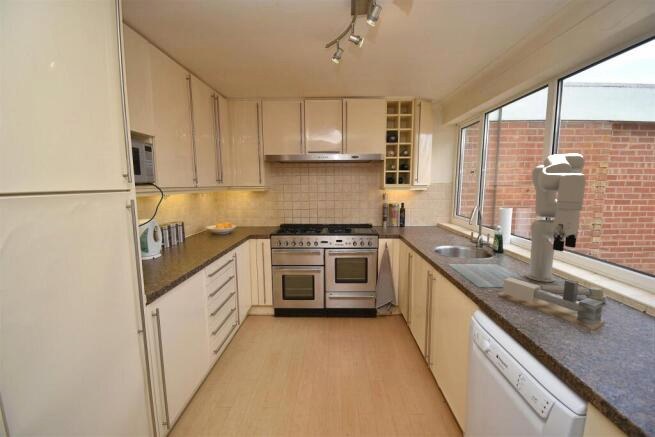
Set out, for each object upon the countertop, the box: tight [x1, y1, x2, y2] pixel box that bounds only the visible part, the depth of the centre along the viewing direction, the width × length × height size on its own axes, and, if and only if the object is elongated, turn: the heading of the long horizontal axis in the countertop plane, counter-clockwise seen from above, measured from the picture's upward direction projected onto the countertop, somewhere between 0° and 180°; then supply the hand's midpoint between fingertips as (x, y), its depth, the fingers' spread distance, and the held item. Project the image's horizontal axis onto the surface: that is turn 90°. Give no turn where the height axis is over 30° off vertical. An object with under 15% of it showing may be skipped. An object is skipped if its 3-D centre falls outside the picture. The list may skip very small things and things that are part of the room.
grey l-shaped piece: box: [534, 279, 580, 312], centre depth 106 cm, size 21×3×10 cm, turn 27°
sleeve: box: [502, 277, 541, 303], centre depth 118 cm, size 12×5×7 cm, turn 27°
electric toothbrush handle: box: [537, 283, 607, 304], centre depth 120 cm, size 5×7×25 cm
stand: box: [497, 291, 605, 331], centre depth 110 cm, size 33×9×8 cm, turn 26°
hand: (564, 248), depth 107 cm, fingers open, 9 cm apart
